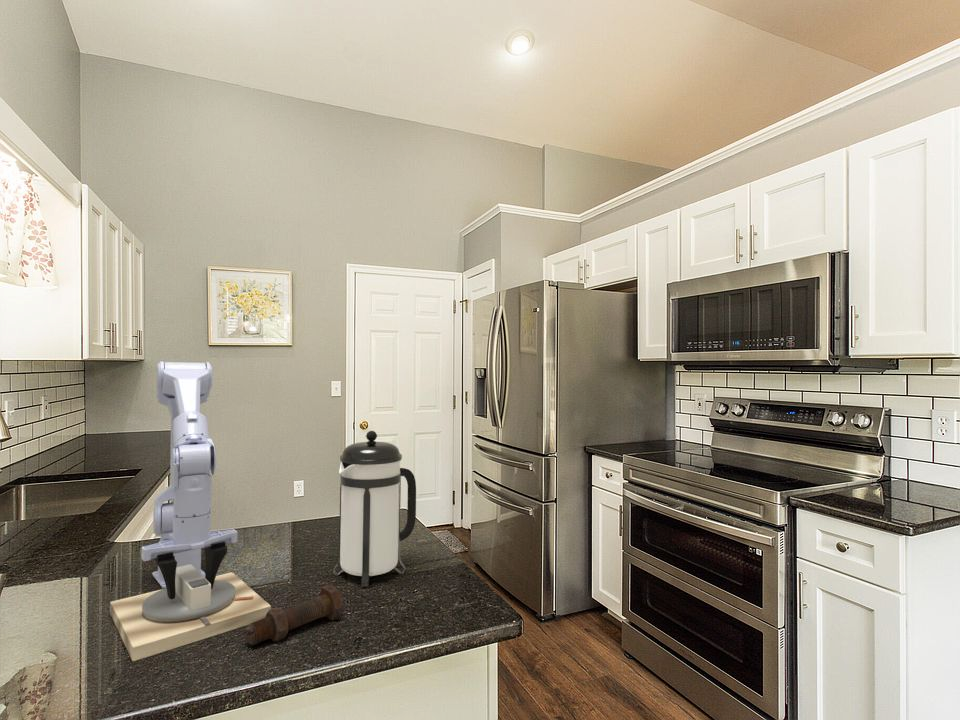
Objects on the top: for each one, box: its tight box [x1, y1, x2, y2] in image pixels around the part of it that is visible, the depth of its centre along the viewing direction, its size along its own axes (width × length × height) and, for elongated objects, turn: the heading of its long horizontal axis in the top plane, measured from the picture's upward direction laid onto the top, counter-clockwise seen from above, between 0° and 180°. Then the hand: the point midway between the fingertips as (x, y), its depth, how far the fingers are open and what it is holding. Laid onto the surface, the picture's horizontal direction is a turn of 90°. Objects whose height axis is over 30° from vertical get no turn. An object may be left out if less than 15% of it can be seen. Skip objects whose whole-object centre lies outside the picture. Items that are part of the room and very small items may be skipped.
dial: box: [142, 564, 235, 622], centre depth 89 cm, size 14×14×5 cm
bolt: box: [244, 584, 343, 646], centre depth 85 cm, size 6×5×15 cm
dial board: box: [109, 571, 272, 662], centre depth 89 cm, size 20×20×2 cm
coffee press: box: [332, 430, 417, 588], centre depth 110 cm, size 17×16×30 cm
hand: (190, 592), depth 89 cm, fingers open, 5 cm apart
